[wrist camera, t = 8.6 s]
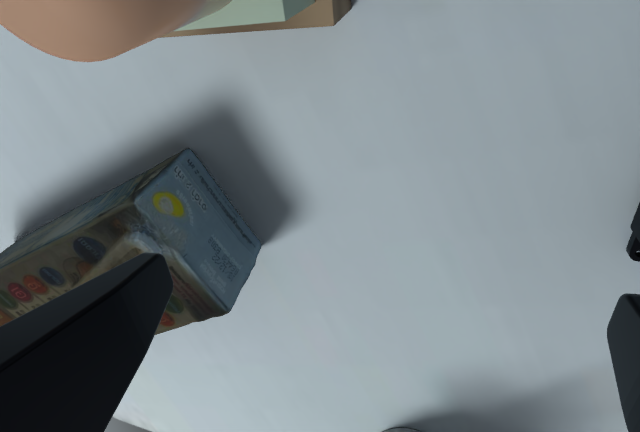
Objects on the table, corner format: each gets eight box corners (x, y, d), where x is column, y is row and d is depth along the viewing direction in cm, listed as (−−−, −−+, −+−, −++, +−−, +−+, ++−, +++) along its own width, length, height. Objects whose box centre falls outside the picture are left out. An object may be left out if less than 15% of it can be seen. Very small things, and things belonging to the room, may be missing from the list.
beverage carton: (272, 249, 27) (230, 330, 21) (87, 314, 35) (24, 384, 30) (193, 140, 23) (121, 204, 18) (11, 241, 32) (-74, 304, 27)
